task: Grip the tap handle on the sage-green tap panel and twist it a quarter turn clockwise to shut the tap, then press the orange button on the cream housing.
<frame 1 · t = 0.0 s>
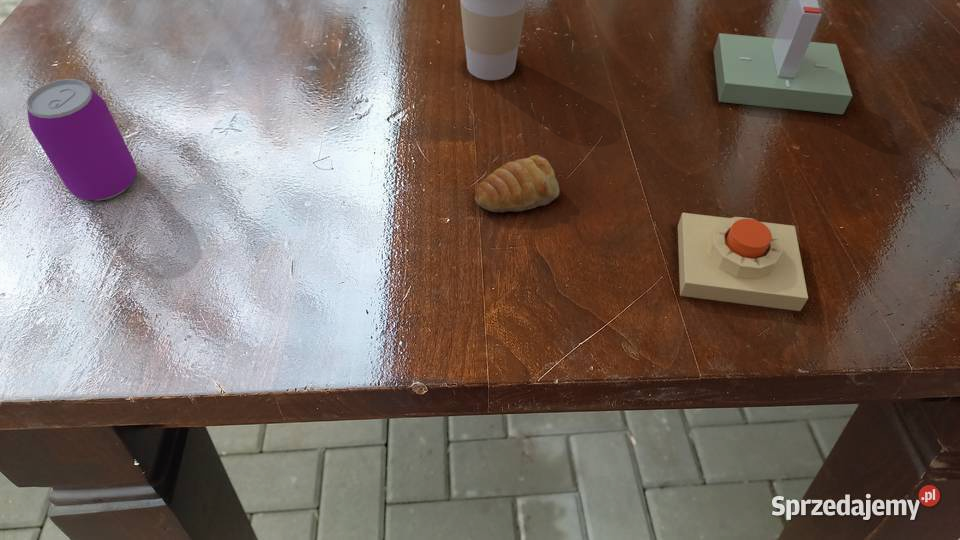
coffee cup: (491, 66, 97), on the table
beverage can: (106, 183, 81), on the table
button: (748, 238, 70), point 4 cm above the table, slide at 0.1 cm
tap knob: (795, 31, 89), point 8 cm above the table, hinge at 90.0°
tap panel: (775, 81, 95), on the table
pastry: (519, 196, 80), on the table
button box: (735, 266, 74), on the table
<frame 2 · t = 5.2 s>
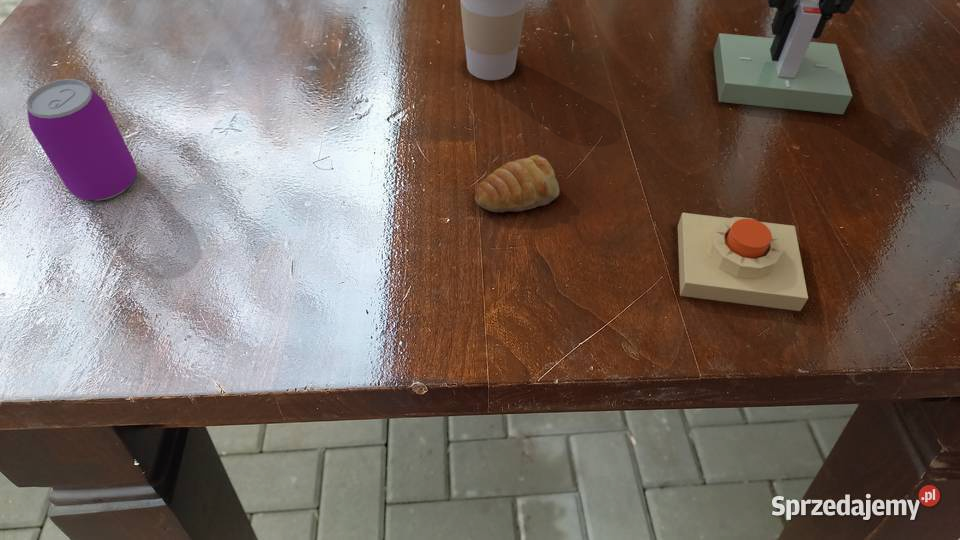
hand: (785, 56, 92), 4 cm above the table, tool pointing down, fingers closed on tap knob, 2 cm apart
tap knob: (795, 31, 89), point 8 cm above the table, hinge at 89.9°, touching gripper
everything else where it was.
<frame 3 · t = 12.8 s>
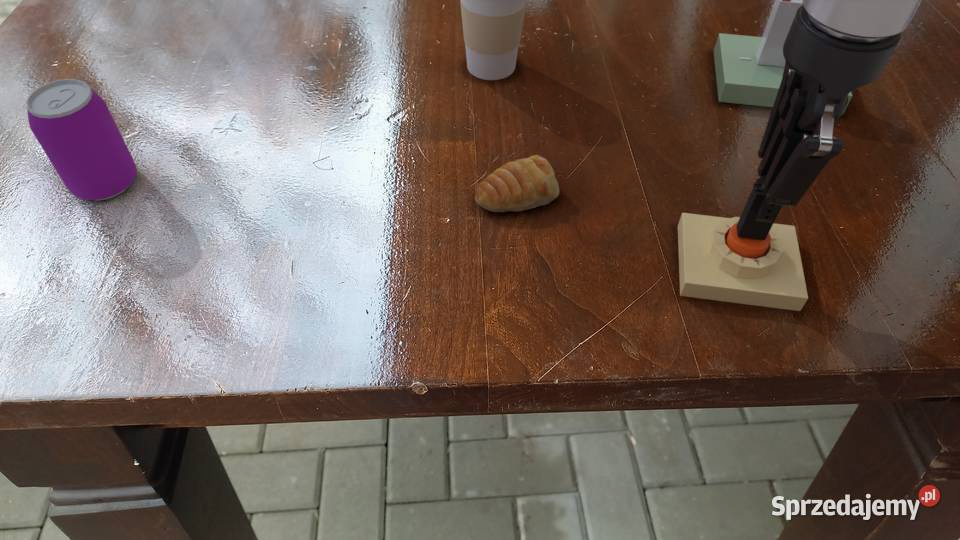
hand: (750, 233, 69), 5 cm above the table, tool pointing down, fingers closed
button: (747, 240, 70), point 4 cm above the table, slide at -0.2 cm, touching gripper
tap knob: (795, 31, 89), point 8 cm above the table, hinge at 0.1°
everything else where it was.
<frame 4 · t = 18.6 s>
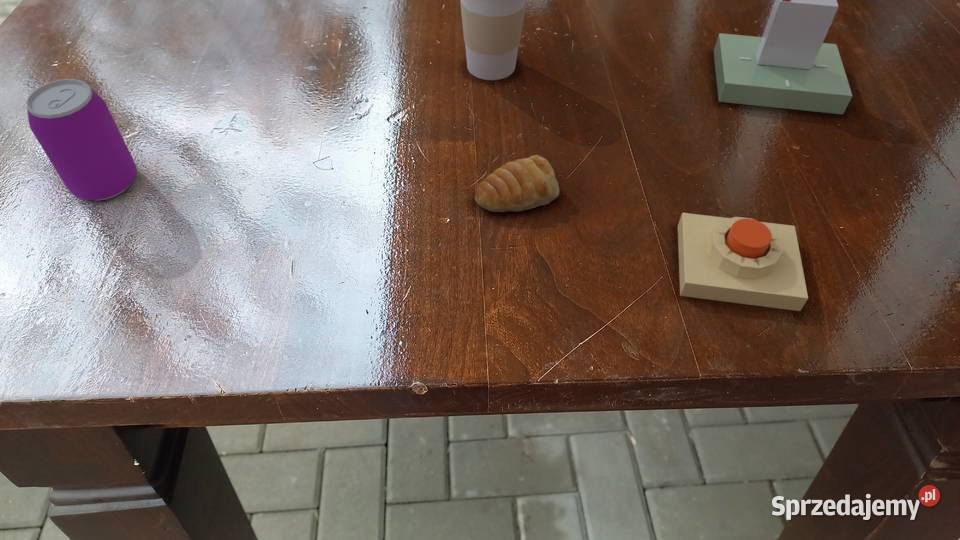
button: (748, 238, 70), point 4 cm above the table, slide at 0.1 cm
everything else where it was.
at the end: tap knob at +0° (first picture: +90°); button pushed in 1.0 cm at the most during the clip, back to where it started at the end; button slide at 0.1 cm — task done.
